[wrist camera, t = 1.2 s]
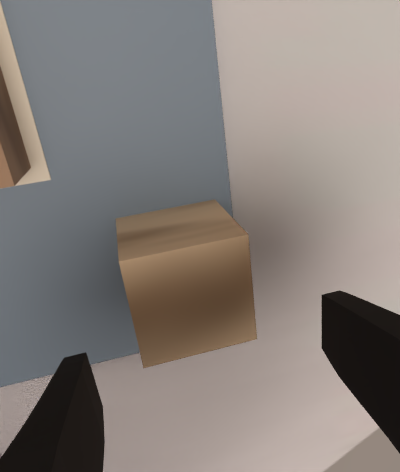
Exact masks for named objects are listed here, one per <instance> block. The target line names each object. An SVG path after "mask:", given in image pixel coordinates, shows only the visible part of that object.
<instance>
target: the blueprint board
mask: <svg viewBox="0 0 400 472" xmlns="http://www.w3.org/2000/svg"><path fill="white" fill-rule="evenodd" d="M0 67H1V70H2V73H3V77H4V80H5V83H6V87H7V90H8V93H9V96H10V100H11V103H12V106H13V110H14V113H15V116H16V120H17V123H18V126H19V130H20V133H21V136H22V140H23V143H24V146H25V149H26V153H27V156H28V159H29V163H30V166H31V168H30V169H29V171H28V172H27V173H26V174H25V175H24V176H23V177H22V178H21V179H20V181H19V182H18V183H17V184H16V185H15V186H12V187H6V188H0V387H3V386H7V385H11V384H15V383H19V382H23V381H27V380H31V379H35V378H39V377H43V376H47V375H51V374H55V372H56V370H57V368H58V366H59V365H60V363H61V361H62V360H63V359H64V357H69V356H73V355H77V354H81V353H85V352H86V353H87V356H88V360H89V363H90V365H91V364H95V363H99V362H103V361H107V360H111V359H115V358H119V357H123V356H127V355H131V354H135V353H139V352H140V350H139V346H138V342H137V338H136V333H135V329H134V325H133V321H132V316H131V312H130V308H129V303H128V299H127V295H126V291H125V286H124V282H123V278H122V274H121V269H120V265H119V258H118V244H117V231H116V218H121V217H126V216H131V215H136V214H142V213H147V212H152V211H157V210H162V209H168V208H173V207H178V206H183V205H188V204H194V203H199V202H204V201H209V200H214V199H215V200H216V201H217V202H218V203H219V204H220V205H221V206H222V207H223V208H224V209H225V210H226V212H227V213H228V214H229V215H230V216H231V217H232V218H233V214H232V204H231V194H230V184H229V174H228V164H227V153H226V143H225V133H224V123H223V113H222V103H221V92H220V82H219V72H218V62H217V52H216V42H215V31H214V21H213V11H212V1H211V0H0Z"/></svg>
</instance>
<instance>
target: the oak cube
mask: <svg viewBox="0 0 400 472" xmlns="http://www.w3.org/2000/svg"><path fill="white" fill-rule="evenodd" d="M116 231H117V244H118V258H119V265H120V269H121V274H122V278H123V282H124V286H125V291H126V295H127V299H128V303H129V308H130V312H131V316H132V321H133V325H134V329H135V333H136V338H137V342H138V346H139V350H140V355H141V359H142V363H143V368H146V367H150V366H154V365H158V364H162V363H166V362H169V361H173V360H177V359H181V358H185V357H189V356H193V355H197V354H201V353H204V352H208V351H212V350H216V349H220V348H224V347H228V346H232V345H236V344H240V343H243V342H247V341H251V340H255V339H257V334H256V322H255V310H254V298H253V286H252V274H251V262H250V249H249V237H248V234H247V233H246V232H245V231H244V229H243V228H242V227H241V226H240V225H239V224H238V223H237V222H236V221H235V220H234V219H233V218H232V217H231V216H230V215H229V214H228V213H227V212H226V210H225V209H224V208H223V207H222V206H221V205H220V204H219V203H218V202H217V201H216V200H215V199H214V200H209V201H204V202H199V203H194V204H188V205H183V206H178V207H173V208H168V209H162V210H157V211H152V212H147V213H142V214H136V215H131V216H126V217H121V218H116Z"/></svg>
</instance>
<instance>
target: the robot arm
mask: <svg viewBox="0 0 400 472" xmlns="http://www.w3.org/2000/svg"><path fill="white" fill-rule="evenodd" d="M322 349H323V351H324V353H325V354H326V356H327V358H328V359H329V361H330V363H331V364H332V366H333V368H334V369H335V371H336V372H337V374H338V376H339V377H340V378H341V380H342V381H343V382H344V383H345V385H346V386H347V387H348V388H349V390H350V391H351V392H352V394H353V395H354V396H355V397H356V399H357V400H358V401H359V402H360V404H361V405H362V406H363V407H364V409H365V410H366V411H367V412H368V413H369V415H370V416H371V417H372V418H373V420H374V421H375V422H376V423H377V425H378V426H379V427H380V428H381V430H382V431H383V432H384V433H385V435H386V436H387V437H388V438H389V440H390V441H391V442H392V444H393V445H394V446H395V448H396V449H397V450H398V452H399V453H400V315H398V314H396V313H393V312H391V311H389V310H386V309H384V308H382V307H379V306H377V305H375V304H372V303H370V302H368V301H365V300H363V299H360V298H358V297H356V296H353V295H351V294H348V293H345V292H342V291H336V292H332V293H328V294H324V295H322ZM104 442H105V441H104V421H103V406H102V403H101V399H100V396H99V393H98V389H97V386H96V383H95V379H94V376H93V373H92V370H91V366H90V363H89V360H88V356H87V353H86V352H85V353H81V354H77V355H73V356H69V357H64V359H63V360H62V361H61V363H60V365H59V366H58V368H57V370H56V372H55V374H54V375H53V377H52V379H51V381H50V382H49V384H48V386H47V388H46V389H45V391H44V393H43V394H42V396H41V398H40V399H39V401H38V403H37V404H36V406H35V408H34V409H33V411H32V412H31V414H30V416H29V417H28V419H27V421H26V422H25V424H24V425H23V427H22V428H21V430H20V431H19V433H18V434H17V435H16V437H15V438H14V440H13V441H12V443H11V444H10V446H9V447H8V449H7V450H6V452H5V453H4V454H3V456H2V457H1V458H0V472H103V460H104Z"/></svg>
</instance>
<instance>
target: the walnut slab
mask: <svg viewBox="0 0 400 472" xmlns="http://www.w3.org/2000/svg"><path fill="white" fill-rule="evenodd" d="M30 168H31V166H30V163H29V159H28V156H27V153H26V149H25V146H24V143H23V140H22V136H21V133H20V130H19V126H18V123H17V120H16V116H15V113H14V110H13V106H12V103H11V100H10V96H9V93H8V90H7V87H6V83H5V80H4V77H3V73H2V70H1V67H0V188H6V187H12V186H15V185H16V184H17V183H18V182H19V181H20V179H21V178H22V177H23V176H24V175H25V174H26V173H27V172H28V171H29V169H30Z"/></svg>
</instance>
